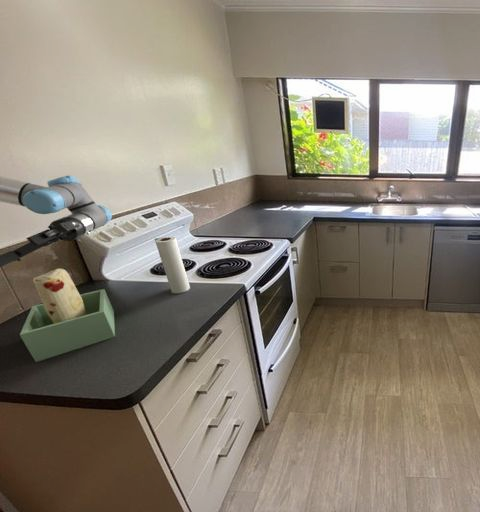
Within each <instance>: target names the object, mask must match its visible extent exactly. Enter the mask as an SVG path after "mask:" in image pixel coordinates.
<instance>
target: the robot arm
mask: <svg viewBox="0 0 480 512" xmlns="http://www.w3.org/2000/svg"><path fill="white" fill-rule="evenodd" d="M46 184H47V186H44V185H39V184H36V183H30V182H27V181H22V180H17V179H13V178H9V177H4V176H0V203H5V204H10V205H15V206H20V207H25V208H26V209H27V210H29V211H31V212H32V213H34V214H40V215H49V214H53V213H58V212H60V211H62V210H65V209H67V210H68V211H69V212H70V214H68V215H65V216H63V217H61V218H58V219H55V220H52V222H51V223H50V224H49V225H48V226H47V228H48V229H47V228H46V229H45V230H42V231H40V232H38V233H35V234H33V235H31V236H28V237H26V238H25V239H26V240H27V241H28V242H27V243H26V244H24V245H22V246H19V247H18V248H17V247H16V249H13V250H10V251H7V252H5V253H3V254H0V268H2V267H4V266H6V265H8V264H10V263H13V262H16V261H17V262H21V261H22V259H21V258H23V257H25V256H28V255H29V254H31V253H33V252H35V251H37V250H39V249H41V248H44V247H48V246H49V245H53V244H54V243H57V242H59V241H64V242H71V241H74V240H76V239H79V238H81V237H82V236H84V235H88V236H89V235H91V232H93V231H95V230H97V229H99V228H101V227H104V226H105V225H107V224H108V223H110V222H111V221H112V218H113V214H112V212H111V210H109V208H107V207H106V206H104V205H101V204H97V203H96V202H95V201H94V200H93V198H92V196H90V194H89V193H88V192H87V190H86V189H85V188H84V186H83V184H82V183H81V182H80V181H79V180H78V179H77V178H76V177H75V176H74V175H72V174H70V175H68V174H67V175H64V176H59V177H57V178H53V179H49V180H48V181H47V182H46Z"/></svg>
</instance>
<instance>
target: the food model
mask: <svg viewBox="0 0 480 512" xmlns="http://www.w3.org/2000/svg"><path fill="white" fill-rule="evenodd" d="M32 282H33V284H34V286H35V289H36V292H37V293H38V296H39V298H40V300H41V304H43V306H44V308H45V310H46V312H47V314H48V315H49V317H50V318H51V320H52V321H53V323H54V324H56V323H59V322H63V321H67V320H70V319H74V318H77V317H81V316H85V315H86V311H85V307H84V303H83V300H82V298H81V296H80V295H81V294H80V292H79V291H78V288H77V287H76V285H75V283H74V281H73V279H72V278H71V276H70V274H69V273H68V271H67V270H65V269H64V268H56V269H53V270H50V271H48V272H47V273H43V274H41V275H39V276H36V277H33V280H32Z"/></svg>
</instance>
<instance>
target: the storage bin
mask: <svg viewBox="0 0 480 512" xmlns="http://www.w3.org/2000/svg"><path fill="white" fill-rule="evenodd" d="M80 296H81V298H82V300H83V303H84V307H85V311H86V315H85V316H81V317H77V318H74V319H70V320H67V321H63V322H59V323H56V324H54V323H53V321H52V320H51V318H50V317H49V315H48V314H47V312H46V310H45V308H44V306H43V303H39V304H36V305H32V306H31V309H30V311H29V313H28V315H27V317H26V320H25V322H24V324H23V326H22V329H21V331H20V333H19V336H20V338H21V340H22V341H23V343H24V345H25V347H26V348H27V350H28V351H29V354H30V355H31V357H32V358H33V360H34V362H35V363H38V362H42V361H44V360H47V359H50V358H54V357H57V356H59V355H63V354H65V353H69V352H72V351H75V350H79V349H82V348H86V347H88V346H91V345H94V344H98V343H100V342H103V341H106V340H110V339H113V338H115V337H116V332H115V331H116V330H115V310H114V308H113V305H112V304H111V301H110V299H109V297H108V294H107V292H106V289H105V288H103V289H98V290H94V291H90V292H86V293H82V294H80Z"/></svg>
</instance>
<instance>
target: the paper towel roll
mask: <svg viewBox="0 0 480 512" xmlns="http://www.w3.org/2000/svg"><path fill="white" fill-rule="evenodd" d="M154 242H155V245H156V247H157V251H158V255H159V258H160V260H161V263H162V267H163V270H164V273H165V276H166V279H167V282H168V285H169V288H170V292H171V293H172V294H182V293H186V292H188V291H189V290H190V289H191V286H190V283H189V279H188V276H187V272H186V269H185V265H184V261H183V258H182V255H181V251H180V248H179V245H178V241H177V238H176V237H175V236H165V237H156V238H155V237H154Z"/></svg>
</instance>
